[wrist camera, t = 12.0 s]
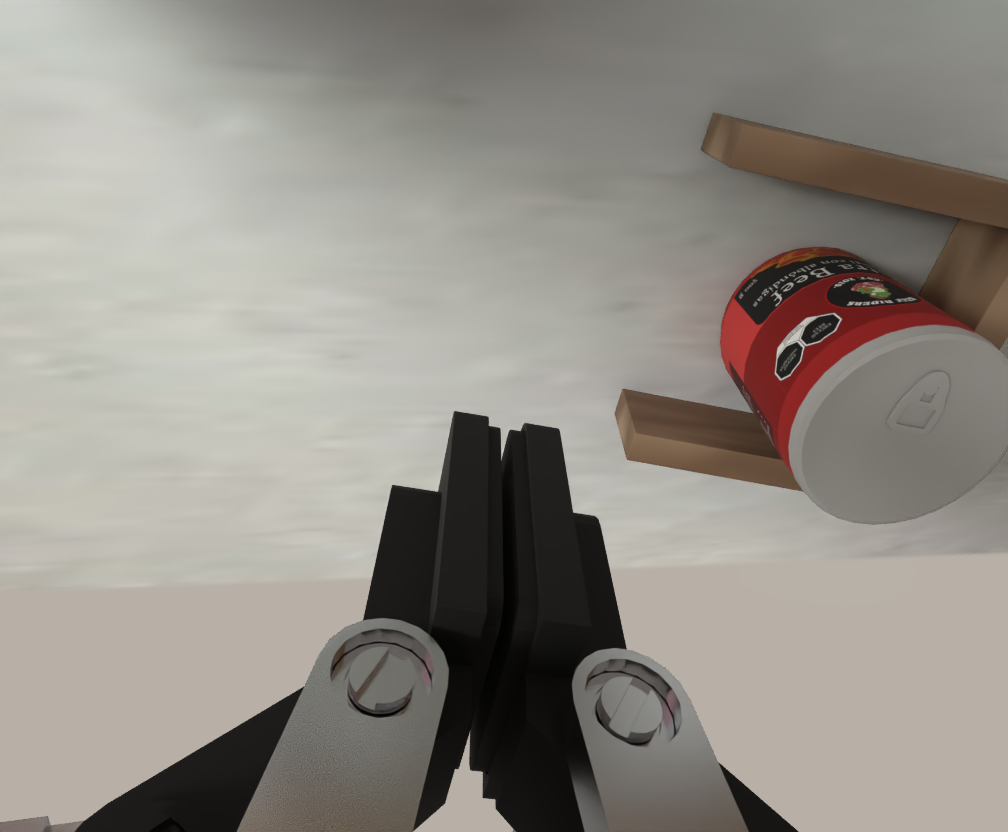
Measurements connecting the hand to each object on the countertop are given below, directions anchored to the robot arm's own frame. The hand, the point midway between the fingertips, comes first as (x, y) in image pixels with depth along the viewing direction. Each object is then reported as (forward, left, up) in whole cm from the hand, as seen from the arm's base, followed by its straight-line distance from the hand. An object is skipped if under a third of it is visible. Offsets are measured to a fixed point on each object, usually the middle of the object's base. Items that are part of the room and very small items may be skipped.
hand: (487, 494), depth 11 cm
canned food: (+3, +15, -23) cm, 27 cm away
